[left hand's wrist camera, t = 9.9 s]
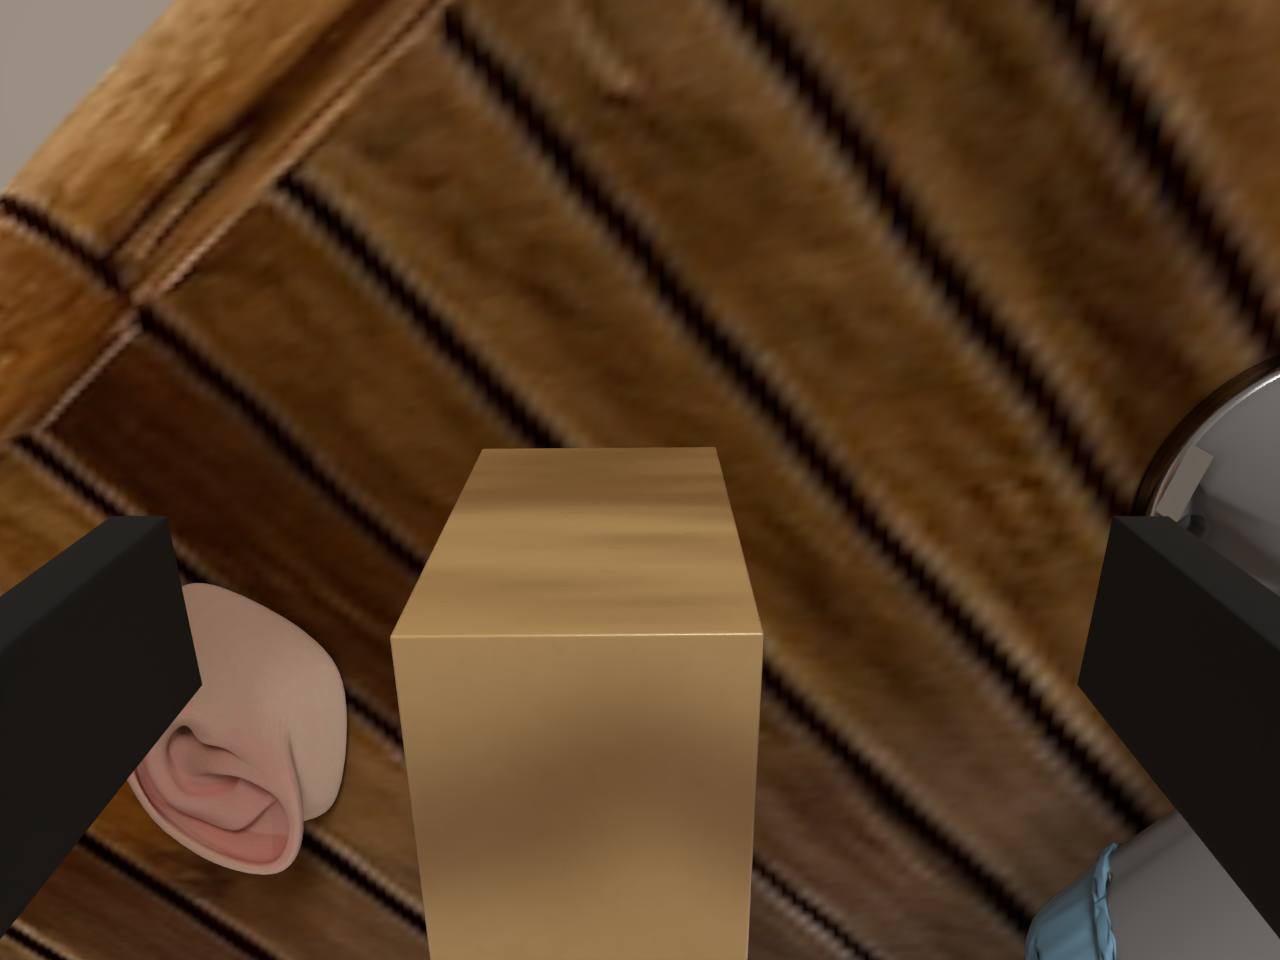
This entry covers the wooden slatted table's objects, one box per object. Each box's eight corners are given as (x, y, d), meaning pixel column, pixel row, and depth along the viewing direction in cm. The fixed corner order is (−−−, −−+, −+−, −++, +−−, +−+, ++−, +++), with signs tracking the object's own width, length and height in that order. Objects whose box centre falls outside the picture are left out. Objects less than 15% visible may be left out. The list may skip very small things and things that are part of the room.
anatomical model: (84, 604, 37) (357, 678, 38) (134, 561, 41) (382, 630, 42) (55, 841, 41) (300, 899, 43) (103, 782, 45) (326, 838, 47)
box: (482, 448, 24) (388, 636, 15) (716, 446, 24) (764, 632, 15) (524, 1017, 32) (480, 1366, 23) (701, 1016, 32) (727, 1364, 23)
